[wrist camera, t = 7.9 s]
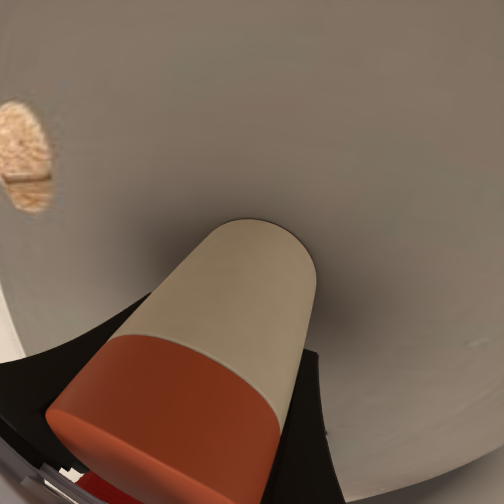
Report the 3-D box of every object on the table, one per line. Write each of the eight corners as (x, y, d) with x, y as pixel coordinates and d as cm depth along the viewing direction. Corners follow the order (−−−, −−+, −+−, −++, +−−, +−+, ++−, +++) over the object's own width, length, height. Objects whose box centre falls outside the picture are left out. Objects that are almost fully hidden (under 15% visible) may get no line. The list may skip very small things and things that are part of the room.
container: (206, 202, 12) (14, 367, 4) (334, 242, 12) (285, 505, 3) (192, 302, 15) (75, 463, 7) (295, 339, 14) (231, 537, 6)
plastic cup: (175, 464, 38) (143, 526, 28) (112, 429, 38) (75, 488, 28) (189, 452, 31) (150, 532, 22) (110, 408, 31) (63, 482, 22)
